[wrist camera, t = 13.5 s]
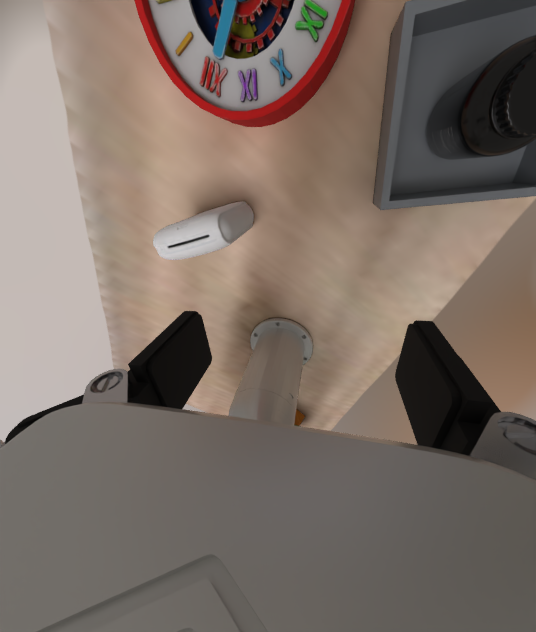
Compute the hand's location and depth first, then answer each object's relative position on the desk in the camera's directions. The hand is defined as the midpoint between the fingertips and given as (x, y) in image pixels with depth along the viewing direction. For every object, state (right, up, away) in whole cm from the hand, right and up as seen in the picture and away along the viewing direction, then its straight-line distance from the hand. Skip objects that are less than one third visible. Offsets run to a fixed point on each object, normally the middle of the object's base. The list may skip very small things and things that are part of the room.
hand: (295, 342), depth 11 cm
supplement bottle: (+19, +22, +13) cm, 32 cm away
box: (+19, +22, +14) cm, 32 cm away
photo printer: (-8, +16, +25) cm, 31 cm away
